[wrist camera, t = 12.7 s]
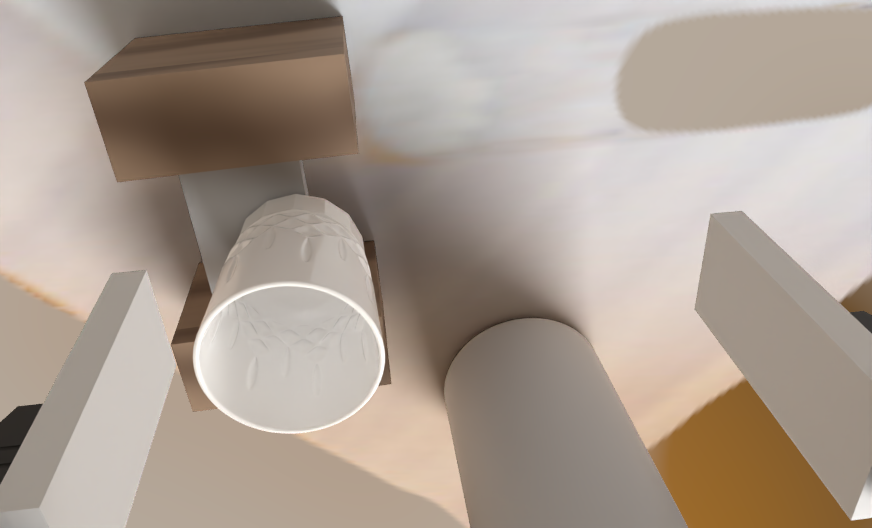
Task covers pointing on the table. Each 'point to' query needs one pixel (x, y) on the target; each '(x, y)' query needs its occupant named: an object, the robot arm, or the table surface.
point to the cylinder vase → (548, 435)
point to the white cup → (292, 321)
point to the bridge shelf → (228, 134)
